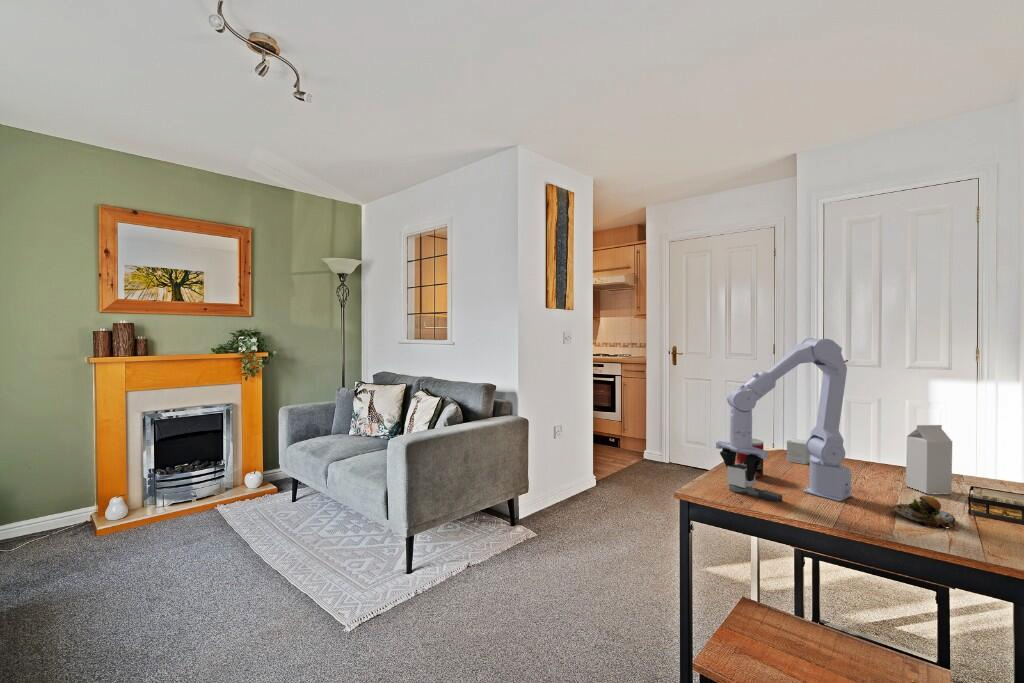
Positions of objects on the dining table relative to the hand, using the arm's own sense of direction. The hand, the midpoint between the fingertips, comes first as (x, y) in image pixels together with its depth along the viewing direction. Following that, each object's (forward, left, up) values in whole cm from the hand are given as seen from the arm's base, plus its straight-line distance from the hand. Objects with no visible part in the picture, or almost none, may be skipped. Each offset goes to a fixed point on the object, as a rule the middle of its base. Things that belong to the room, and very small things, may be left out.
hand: (740, 477), depth 138 cm
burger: (-37, -17, -4) cm, 41 cm away
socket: (0, 0, -2) cm, 2 cm away
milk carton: (-31, -44, -4) cm, 54 cm away
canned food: (+7, -17, -4) cm, 19 cm away
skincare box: (+5, -46, -4) cm, 46 cm away
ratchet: (-4, 0, -4) cm, 5 cm away
